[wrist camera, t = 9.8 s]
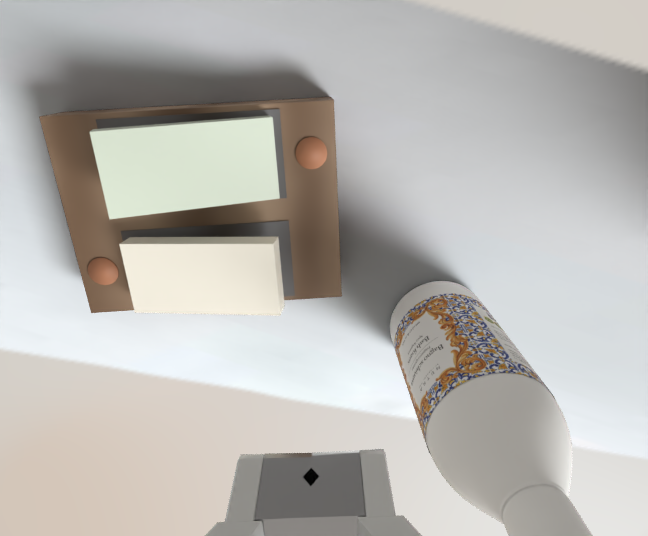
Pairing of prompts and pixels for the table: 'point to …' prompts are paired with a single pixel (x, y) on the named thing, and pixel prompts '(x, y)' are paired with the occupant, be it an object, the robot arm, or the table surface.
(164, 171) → the block
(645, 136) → the table surface
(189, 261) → the block
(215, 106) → the switch plate
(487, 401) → the bath foam
